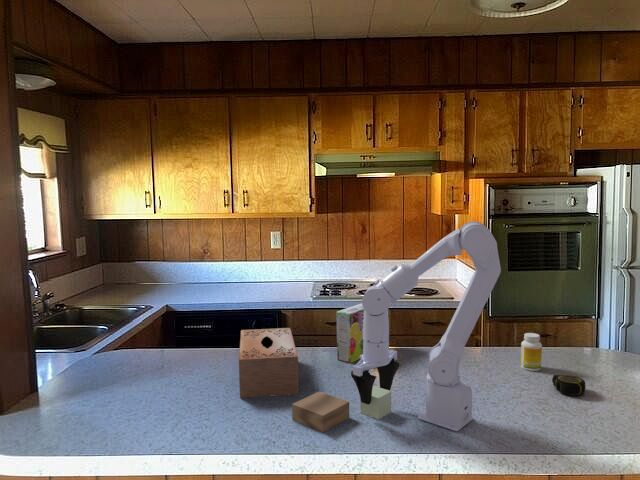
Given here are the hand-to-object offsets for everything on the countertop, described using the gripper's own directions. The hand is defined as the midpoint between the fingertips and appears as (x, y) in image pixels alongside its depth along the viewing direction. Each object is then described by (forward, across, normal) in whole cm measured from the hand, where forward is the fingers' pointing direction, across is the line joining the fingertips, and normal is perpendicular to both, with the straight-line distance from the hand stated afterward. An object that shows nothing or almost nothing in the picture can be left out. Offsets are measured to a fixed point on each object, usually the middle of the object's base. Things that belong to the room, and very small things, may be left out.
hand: (375, 397), depth 116 cm
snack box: (+4, -32, -27) cm, 42 cm away
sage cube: (+4, 0, 0) cm, 4 cm away
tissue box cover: (+4, +1, -35) cm, 35 cm away
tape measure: (+4, -40, +30) cm, 50 cm away
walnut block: (+4, +10, -8) cm, 13 cm away
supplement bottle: (+3, -51, +17) cm, 54 cm away
